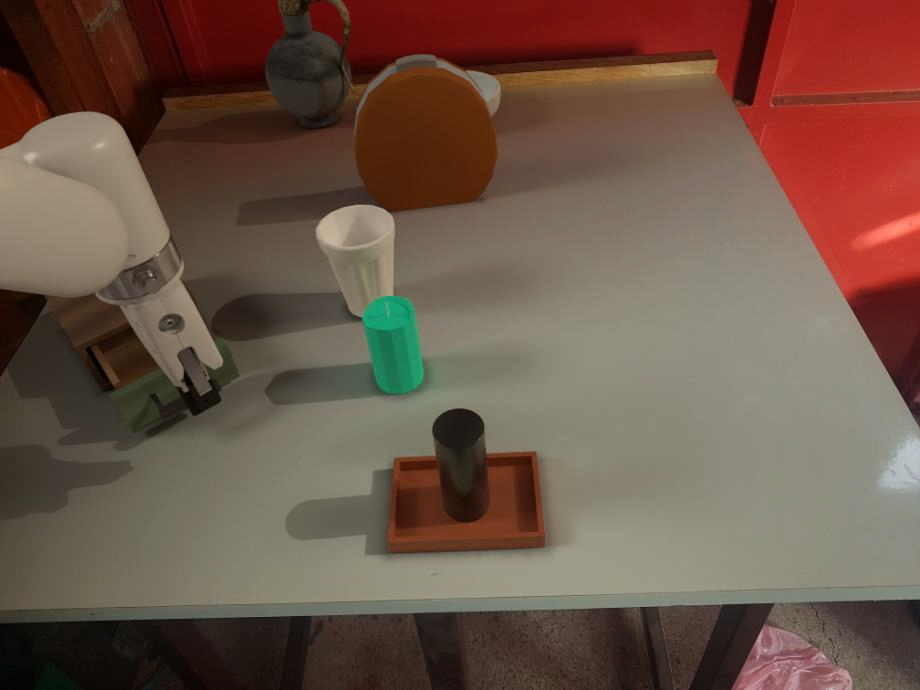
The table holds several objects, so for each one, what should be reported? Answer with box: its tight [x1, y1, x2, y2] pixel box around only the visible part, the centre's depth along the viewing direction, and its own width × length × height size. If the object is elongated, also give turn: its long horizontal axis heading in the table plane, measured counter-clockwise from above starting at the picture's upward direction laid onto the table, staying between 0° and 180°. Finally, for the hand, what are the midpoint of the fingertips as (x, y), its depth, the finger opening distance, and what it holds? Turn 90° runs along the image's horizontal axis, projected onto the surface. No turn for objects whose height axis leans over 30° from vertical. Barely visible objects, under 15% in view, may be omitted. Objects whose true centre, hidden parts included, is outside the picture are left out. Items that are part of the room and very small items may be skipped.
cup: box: [315, 204, 396, 318], centre depth 91 cm, size 10×10×13 cm
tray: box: [386, 450, 546, 554], centre depth 71 cm, size 15×10×2 cm
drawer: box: [90, 327, 241, 434], centre depth 84 cm, size 19×14×6 cm
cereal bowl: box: [466, 70, 502, 118], centre depth 132 cm, size 17×17×7 cm
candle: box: [361, 295, 425, 395], centre depth 81 cm, size 6×6×12 cm
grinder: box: [431, 407, 490, 523], centre depth 67 cm, size 5×5×12 cm
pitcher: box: [264, 0, 358, 129], centre depth 128 cm, size 11×19×30 cm, turn 66°
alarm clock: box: [353, 53, 499, 212], centre depth 109 cm, size 22×10×23 cm, turn 97°
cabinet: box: [43, 278, 210, 392], centre depth 92 cm, size 16×15×8 cm
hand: (204, 404), depth 71 cm, fingers closed
